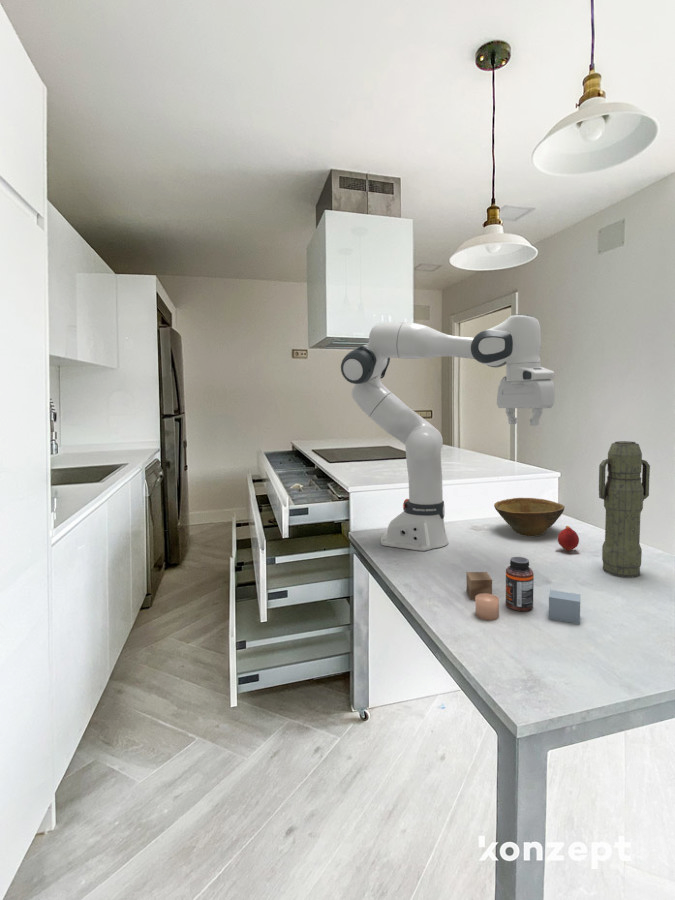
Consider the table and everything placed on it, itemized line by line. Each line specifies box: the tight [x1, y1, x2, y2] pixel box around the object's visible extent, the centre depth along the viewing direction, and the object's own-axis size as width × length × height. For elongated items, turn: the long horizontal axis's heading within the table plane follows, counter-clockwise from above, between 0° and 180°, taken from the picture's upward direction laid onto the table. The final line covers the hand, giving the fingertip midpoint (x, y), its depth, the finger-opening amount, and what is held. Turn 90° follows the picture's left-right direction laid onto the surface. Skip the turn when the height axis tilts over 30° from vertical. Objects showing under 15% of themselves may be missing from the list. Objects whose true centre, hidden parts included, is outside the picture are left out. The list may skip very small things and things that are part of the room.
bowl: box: [493, 497, 565, 537], centre depth 159 cm, size 22×23×10 cm
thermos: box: [598, 440, 651, 578], centre depth 120 cm, size 9×12×35 cm
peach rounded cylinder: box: [474, 593, 500, 621], centre depth 101 cm, size 5×5×4 cm
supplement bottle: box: [505, 556, 535, 612], centre depth 104 cm, size 6×6×11 cm
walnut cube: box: [465, 571, 493, 601], centre depth 111 cm, size 5×5×5 cm
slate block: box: [548, 589, 581, 625], centre depth 99 cm, size 6×4×5 cm, turn 61°
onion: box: [557, 525, 580, 552], centre depth 139 cm, size 6×6×8 cm
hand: (523, 424), depth 127 cm, fingers open, 8 cm apart
